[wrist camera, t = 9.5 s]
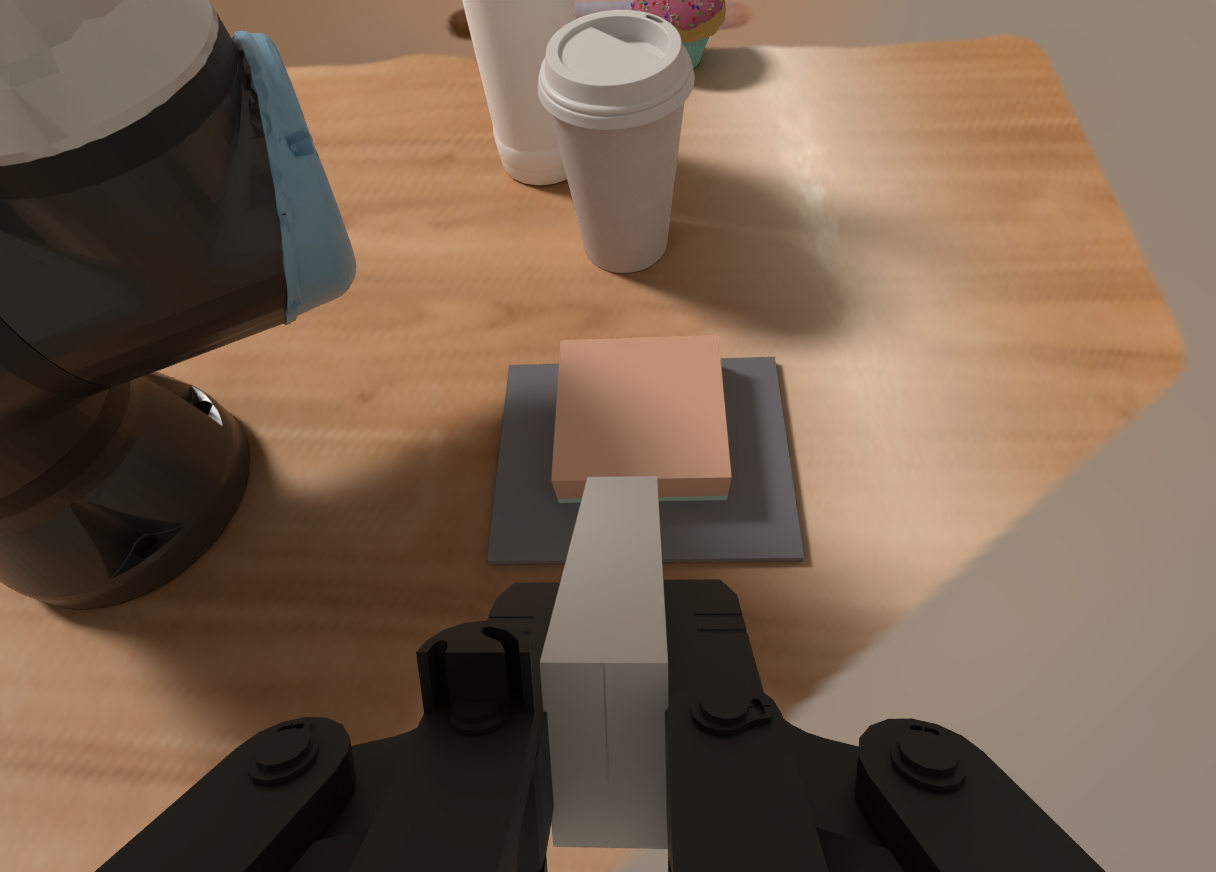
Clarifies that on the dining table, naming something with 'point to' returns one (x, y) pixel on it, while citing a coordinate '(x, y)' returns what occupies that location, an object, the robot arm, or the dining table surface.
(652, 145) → the coffee cup
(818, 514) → the dining table surface
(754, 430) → the mat
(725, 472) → the tile
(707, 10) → the cupcake
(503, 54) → the bottle
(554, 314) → the dining table surface
